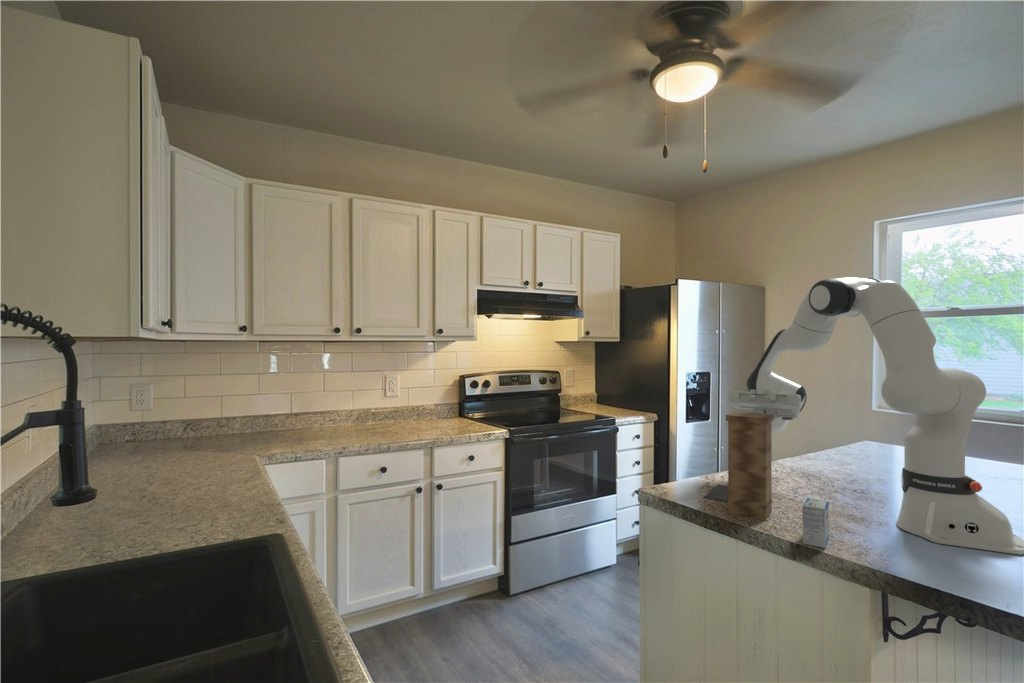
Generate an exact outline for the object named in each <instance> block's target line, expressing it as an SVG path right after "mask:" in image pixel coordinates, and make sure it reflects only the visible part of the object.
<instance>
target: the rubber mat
mask: <svg viewBox="0 0 1024 683" xmlns="http://www.w3.org/2000/svg"><path fill="white" fill-rule="evenodd" d="M703 499H707V500H712V499H713V501H718V500H719V502H723V501H724V503H728V485H725V484H720V483H719V484H717V485H716V486H714V487H713V488H712V489H711V490H709V492H707V493H706V494H705V495H704V496H703Z"/></svg>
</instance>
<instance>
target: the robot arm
mask: <svg viewBox="0 0 1024 683" xmlns="http://www.w3.org/2000/svg"><path fill="white" fill-rule="evenodd" d="M862 316H863V317H864V318H865V320H866V322H867V325H868V326H869V328H870V330H871V332H872V334H873V336H874V339H875V340H876V343H877V345H878V347H879V349H880V351H881V353H882V355H883V358H884V363H885V364H884V365H885V373H886V374H885V379H884V381H883V382H882V385H881V388H880V390H881V391H880V392H881V397H882V399H883V401H884V403H885V404H886V405H887V406H888V407H889V408H891V409H892V410H894V411H896V412H899V413H903V414H907V415H912V416H916V418H915V421H914V422H913V423H914V424H913V425H912V426H911V429H910V430H908V431H907V433H906V434H905V436H904V442H903V443H904V446H903V447H904V448H903V449H904V451H903V452H904V453H903V454H904V456H903V457H904V460H903V461H904V465H903V466H904V467H902V469H901V489H902V492H903V494H902V501H901V507H900V509H899V514H898V517H897V520H896V523H895V524H896V526H897V527H898V528H899V529H901V530H903V531H906V532H908V533H910V534H913V535H915V536H918V537H921V538H924V539H926V540H928V541H930V542H933V543H936V544H941V545H947V546H949V545H950V546H955V547H962V548H970V549H976V550H977V549H978V550H985V551H990V552H991V551H993V552H999V553H1005V554H1010V555H1011V554H1013V555H1024V539H1023V538H1022V537H1020V536H1018V535H1016V534H1014V533H1013V528H1012V524H1011V521H1010V520H1009V518H1008V516H1007V515H1006V514H1005V513H1004V512H1003V511H1002V510H1000V509H999V508H997V507H996V506H994V505H993V504H992V503H990V502H989V501H987V500H986V499H985V498H984V497H982V496H980V495H979V494H978V493H980V492H981V491H982V490H983V486H982V484H981V483H980V482H978V481H976V479H973V478H972V477H971V476H968V475H967V474H966V444H967V439H968V434H969V431H970V427H971V424H972V421H973V418H974V416H975V414H976V411H977V409H978V408H979V407H980V406H981V404H983V403H984V401H985V399H986V396H987V388H986V386H985V383H984V382H983V381H982V379H981V378H980V377H979V376H977V375H976V374H975V373H972V372H969V371H965V370H962V369H959V368H958V369H957V368H949V367H947V368H939V366H938V365H937V363H936V358H935V356H934V347H935V346H936V342H937V339H936V335H935V334H934V332H933V330H932V329H931V327H930V325H929V322H927V320H926V319H925V316H924V315H923V312H922V311H921V310H920V308H919V306H918V305H917V303H916V302H915V301H914V299H913V297H911V295H910V294H909V293H908V291H907V290H906V289H905V288H904V287H903V286H902V285H901V284H900V283H898V282H896V281H894V280H893V281H892V280H881V279H878V278H875V277H874V278H872V277H868V278H865V277H854V276H853V277H852V276H849V277H839V278H833V277H832V278H826V279H822V280H819V281H817V282H816V283H814V284H813V286H812V287H811V288H810V290H809V292H808V293H806V295H805V296H804V298H803V299H802V301H801V303H800V305H799V306H798V308H797V310H796V313H795V316H794V318H793V321H792V322H791V324H790V326H789V327H787V328H786V329H785V328H784V329H781V330H780V331H778V332H777V333H776V334H775V335H774V336H773V338H772V339H771V341H770V342H769V344H768V346H767V347H766V349H765V351H764V353H763V354H762V356H761V357H760V360H759V362H758V363H757V365H756V366H755V367H754V369H753V371H752V372H751V374H750V375H748V377H747V380H746V383H745V386H746V388H747V390H748V391H740V390H739V391H738V390H736V391H735V390H730V391H729V392H728V396H727V401H728V403H729V405H730V406H732V407H733V408H735V409H737V410H738V409H740V410H750V411H752V413H760V414H773V415H774V420H773V421H772V422H771V433H781V432H783V431H785V429H786V428H787V427H788V425H789V421H790V420H791V421H792V420H793V421H794V420H797V419H798V418H799V414H800V413H801V412H802V410H803V408H804V407H805V405H806V403H807V397H808V396H807V392H806V389H805V387H804V386H803V385H801V384H799V383H797V382H795V381H792V380H790V379H787V378H785V377H783V376H781V375H779V374H776V373H775V372H774V371H773V368H774V366H775V364H776V363H777V362H778V360H779V358H780V357H781V355H782V353H783V352H787V351H788V352H789V351H791V352H804V353H805V352H814V351H817V350H819V349H822V348H824V347H825V346H827V344H828V342H829V340H830V339H831V336H832V334H833V332H834V330H835V327H836V325H837V322H838V320H839V318H840V317H848V318H854V317H862Z"/></svg>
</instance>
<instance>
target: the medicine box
mask: <svg viewBox="0 0 1024 683" xmlns="http://www.w3.org/2000/svg"><path fill="white" fill-rule="evenodd" d="M829 510H830V509H829V501H828V500H825V499H820V498H813V497H811V498H809V497H807V498H806V500H805V502H804V504H803V506H802V510H801V511H802V512H801V513H802V514H801V515H802V519H801V520H802V543H803V545H807V546H813V547H817V548H821V549H826V548H827V545H828V541H829V536H830V533H829V532H830V528H829V527H830V524H829V522H830V521H829V518H830V515H829V513H830V512H829Z"/></svg>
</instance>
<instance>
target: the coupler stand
mask: <svg viewBox="0 0 1024 683" xmlns="http://www.w3.org/2000/svg"><path fill="white" fill-rule="evenodd" d="M773 420H774V415H773V414H760V413H753V412H746V411H745V412H744V411H732V412H730V413H728V414H726V415H725V422H727V424H728V426H727V427H728V428H727V432H728V433H727V435H728V436H727V438H728V439H727V447H728V449H727V450H728V451H727V452H728V453H727V464H728V466H727V468H728V469H727V473H728V474H727V475H728V477H727V479H728V481H727V484H728V485H727V486H728V502H727V505H728V507H727V511H728V512H727V513H728V514H731V515H736V516H742V517H746V518H751V519H756V520H760V521H761V520H762V521H767V520H768V518H769V517H770V516H771V514H772V512H773V511H772V510H773V509H772V506H773V504H772V503H773V500H772V498H773V497H772V493H773V492H772V491H773V489H772V486H773V485H772V482H773V481H772V475H773V474H772V458H773V457H772V452H773V451H772V450H773V449H772V447H773V446H772V432H771V422H772V421H773ZM770 513H771V514H770Z"/></svg>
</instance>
